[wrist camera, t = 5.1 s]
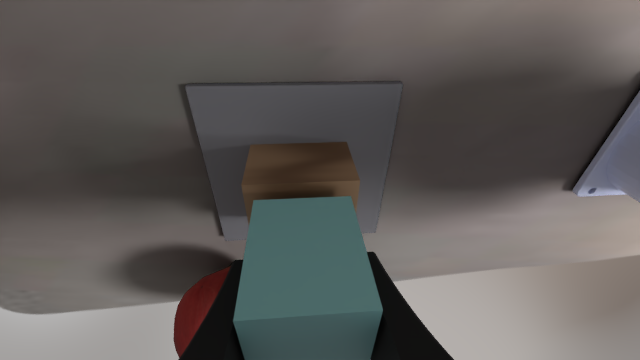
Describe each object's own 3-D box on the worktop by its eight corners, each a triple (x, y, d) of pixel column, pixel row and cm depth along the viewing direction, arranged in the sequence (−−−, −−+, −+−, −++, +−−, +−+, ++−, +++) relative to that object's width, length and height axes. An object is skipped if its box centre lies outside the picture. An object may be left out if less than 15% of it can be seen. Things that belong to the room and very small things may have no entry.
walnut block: (346, 141, 15) (360, 180, 12) (341, 212, 18) (351, 256, 15) (250, 144, 14) (241, 185, 12) (260, 216, 17) (255, 262, 15)
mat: (400, 81, 14) (403, 83, 13) (374, 228, 20) (375, 232, 19) (187, 83, 13) (184, 86, 13) (226, 236, 19) (225, 240, 18)
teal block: (344, 259, 14) (366, 372, 10) (263, 263, 14) (252, 383, 10) (350, 196, 12) (383, 310, 8) (253, 200, 11) (233, 321, 7)
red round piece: (279, 287, 23) (276, 412, 16) (207, 296, 22) (174, 425, 16) (266, 237, 19) (255, 370, 13) (181, 247, 19) (125, 387, 12)
